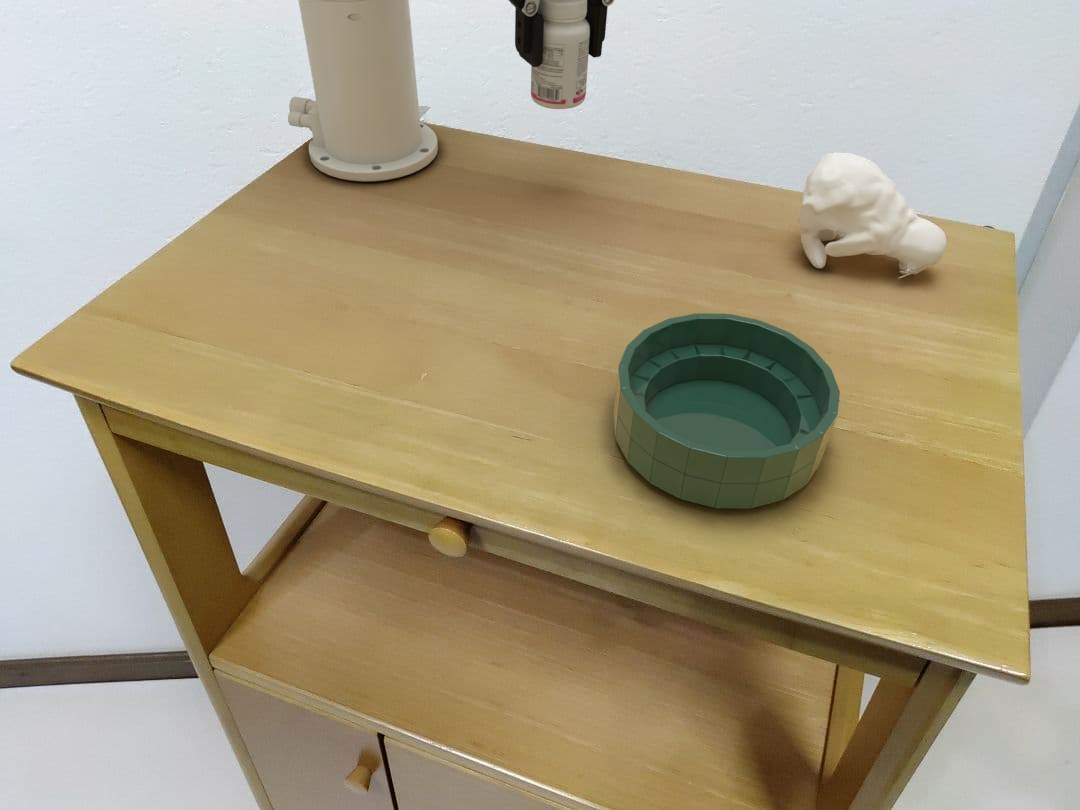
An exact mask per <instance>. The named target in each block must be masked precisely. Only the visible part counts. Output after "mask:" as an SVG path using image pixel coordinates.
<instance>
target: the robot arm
mask: <svg viewBox="0 0 1080 810" xmlns="http://www.w3.org/2000/svg"><path fill="white" fill-rule="evenodd" d="M508 1H509V3H510V4H511V5H512V6H513V7H514V8H515V14H514V15H515V16H514V19H515V20H514V47H515V49H516V51H517V53H518V56H519V57H520V58H522V60H524V61H525V62H526V63H527V64H529V65H530V66H532V67H539V66H540V65H541V64H542V58H543V31H544V18H543V16H542V15H541V14H539V13H538V6H539V2H540V0H508ZM614 2H615V0H587V13H586V17H585V19H586V20H587V21H588V23H589V26H590V38H589V53H588V56H591V57H592V58H593V59H594V58H601V57H602V54H603V53H602V51H603V49H602V48H603V43H604V41H605V40H606V31H607V19H608V9H609V8H608V7H609V6H612V5H613V4H614ZM298 5H299V6H298V7H299V12H300V17H301V23H302V28H303V34H304V40H305V45H306V51H307V56H308V57H307V58H308V62H309V67H310V73H311V79H312V85H313V90H314V95H315V100H313V99H311V98H306V97H299V96H293V97H291V99H290V101H289V106H288V108H289V113H288V116H287V122H288V124H289V126H291V127H298V128H306V129H307V128H308V129H309V131H310V132H311V134H312V137H311V139H310V141H309V143H308V153H309V158H310V162H311V163H312V164H313V166H314V167H315V168H316V169H317V170H319V171H320V172H321V173H323V174H325V175H328V176H330V177H333V178H336V179H340V180H346V181H351V182H380V181H390V180H393V179H399V178H402V177H406V176H408V175H409V176H410V175H412V174H413V173H416V172H418V171H421V170H422V169H424V168H425V167H427V166H428V165H429V164H431V162H432V161H433V160H435V158H436V156H437V155H438V150H439V145H438V144H439V143H438V136H437V134H436V132H434V130H433V129H432V128H431V127H430V126H429V125H426V124H425V123H423V122H421V116H420V108H419V107H420V106H419V94H418V83H417V74H416V65H415V64H416V63H415V62H416V61H415V55H414V42H413V41H414V40H413V32H412V31H413V30H412V22H411V11H410V0H298Z"/></svg>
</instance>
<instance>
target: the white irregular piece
mask: <svg viewBox="0 0 1080 810" xmlns="http://www.w3.org/2000/svg"><path fill="white" fill-rule="evenodd" d="M797 217H798V218H797V222H798V224H799V225H798V226H799V230H800V231H799V232H800V233H799V234H800V242H801V245H802V247H803V250H804V253H805V256H806V257H807V259H808V261H810V263H811V265H812V266H813V267H814V268H815V269H823V268H824V267H825V266H826V263H827V258H828V256H830V257H834V258H835V257H836V258H840V257H848V256H849V257H850V256H851V257H852V256H858V255H863V254H865V255H870V256H882V255H883V256H887V257H889V258H894V259H896V260H898V268H899V273H901V274H902V275H901V276H899V277H898V279H901V278H904V277H907V276H909V275H917V274H919V273H921V272H923V271H924V270H925V269H928V268H929V267H933V266H935V265H937V264H938V263H939V262H940V261H941V260H942V258H943V256H944V255H945V253H946V249H947V237H946V234H945V232H944V231H943V229H942V228H941V227H939V226H938V225H936V224H935V223H933V222H932V221H930V220H928V219H926V218H924V217H923V218H922V217H920V216H918V214H917V213H916V211H915V210H914V209H913V208H911V207H910V205H909V203H908V200H907V198H906V197H905V196H904V195H903V194H902V193H901V192H900V191H899V190H898V188H897V185H896V183H895V182H894V181H893V180H892V179H891V178H890V177H889V176H888V175H887V174H885V172H883V171H882V169H881V168H880V166H879V165H877V164H876V163H875V162H873V161H872V160H870V159H868V158H866V157H864V156H860V155H858V154H854V153H851V152H829V153H826V154H825V155H823V156H821V157H820V158H819V159H818V161H816V163H815V164H814V166H813V167H812V168H811V170H810V172H809V173H808V175H807V178H806V180H805V184H804V189H803V191H802V197H801V205H800V211H799V213H798V216H797ZM837 232H839V237H841V238H840V239H838V240H835V238H836V237H837V234H838V233H837ZM833 240H835V241H833ZM828 241H830V242H828ZM823 242H828V243H826V245H824V243H823Z"/></svg>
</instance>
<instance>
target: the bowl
mask: <svg viewBox="0 0 1080 810" xmlns="http://www.w3.org/2000/svg"><path fill="white" fill-rule="evenodd" d="M617 367H618V368H617V377H616V387H615V398H614V407H613V415H612V417H613V428H614V429H613V430H614V439H615V442H616V443H617V445H618V446H619V449H620V450H621V452H622V454H623V456H624V458H625V459H626V462H627V463H628V464H629V465H630V466H631V467H632V468H633V469H634V470H635V471H636V472H637V473H638V474H640V475H641V477H643V478H644V479H645V480H646V481H647V482H648V483H649V484H651V485H653V486H655V487H656V488H657V489H658V488H659V490H662V491H664V492H665V493H668V494H670V495H671V496H673V497H675V498H677V499H679V500H683V501H687V502H691V503H693V504H698V505H702V506H706V507H709V508H715V509H748V510H749V509H753V508H756V507H761V506H762V507H763V506H765V505H769V504H774V503H777V502H781V501H784V500H785V499H787V498H788V497H790V496H792V495H793V494H794V493H796V492H798V491H799V490H801V489H803V488H804V487H806V485H808V483H809V482H810V480H811V479H812V477H813V476H814V475H815V473H816V471H817V470H818V468H819V467H820V465H821V462H822V459H823V457H824V454H825V452H826V448H827V446H828V443H829V441H830V437H831V434H832V432H833V429H834V426H835V424H836V420H837V417H838V414H839V407H840V397H841V391H840V388H839V385H838V383H837V380H836V377H835V375H834V372H833V370H832V368H831V367H830V366H829V364H828V363H827V362H826V361H825V360H824V359H823V358H822V356H820V354H819V353H818V352H817V350H815V348H813V347H812V346H811V345H809V344H807V343H806V342H805V341H803V340H801V338H799V337H797V336H796V335H795V334H793V333H792V332H790V331H788V330H785V329H782V328H780V327H778V326H775V325H772V324H770V323H768V322H765V321H763V320H760V319H757V318H751V317H746V316H741V315H737V314H736V315H735V314H730V313H703V312H702V313H701V312H700V313H699V312H697V313H691V314H686V315H680V316H679V315H678V316H675V317H669V318H666V319H664V320H662V321H660V322H657V323H656V324H653V325H651V326H648V327H647V328H645V329H643V330H642V331H641V332H640V333H638V335H637V336H636V337H635V338H633V339H632V340H631V341H630V342H629V343H628V344H627V345H626V347H625V349H624V351H623V354H622V356H621V359H620V361H619V364H618V366H617Z"/></svg>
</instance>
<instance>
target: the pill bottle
mask: <svg viewBox="0 0 1080 810" xmlns="http://www.w3.org/2000/svg"><path fill="white" fill-rule="evenodd" d="M538 13H539V14H541V15H542V16H543V18H544V31H543V58H542V64H541V65H540V66H539V67H532V66H531V65H530V66H531V68H530V69H531V70H530V97H531V99H532V101H533V102H534V103H535V104H536V105H538V106H540V107H543V108H546V109H551V110H566V109H572V108H576V107H578V106H581V105H582V104H583V103H584V102H585V100H586V96H587V84H588V83H587V81H588V67H589V66H588V65H589V54H588V53H589V38H590V26H589V23H588V21H587V20H586V19H585V17H586V13H587V0H540V2H539V6H538Z"/></svg>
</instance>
